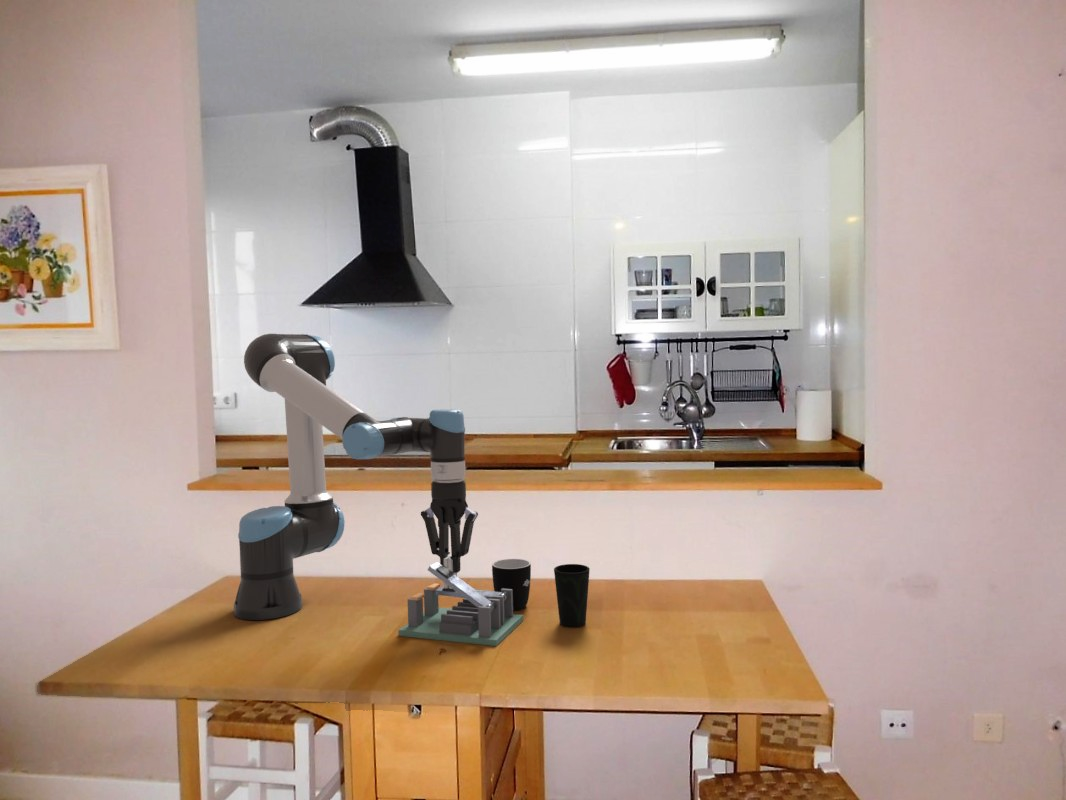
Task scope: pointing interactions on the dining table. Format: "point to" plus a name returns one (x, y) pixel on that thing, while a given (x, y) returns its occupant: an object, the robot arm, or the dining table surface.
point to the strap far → (485, 593)
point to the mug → (513, 579)
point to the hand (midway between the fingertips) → (450, 586)
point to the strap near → (460, 586)
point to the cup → (572, 594)
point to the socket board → (460, 619)
